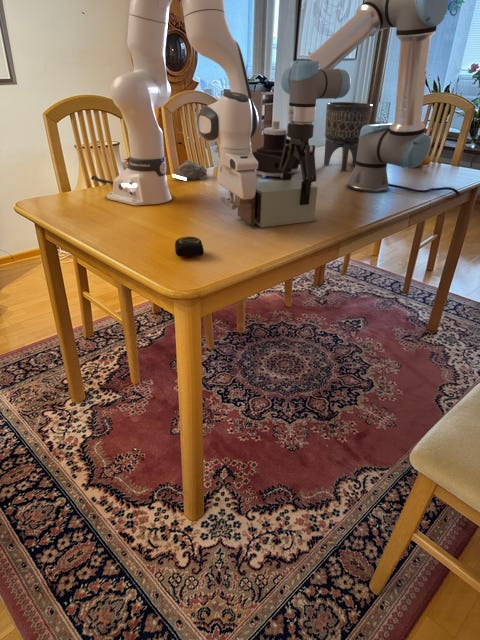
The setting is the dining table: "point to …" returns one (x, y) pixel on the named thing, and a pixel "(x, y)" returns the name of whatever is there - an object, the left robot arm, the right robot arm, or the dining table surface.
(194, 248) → the tape measure
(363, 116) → the planter
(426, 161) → the toy
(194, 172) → the rock
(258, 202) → the drawer
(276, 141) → the mechanical component
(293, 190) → the cabinet
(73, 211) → the dining table surface
